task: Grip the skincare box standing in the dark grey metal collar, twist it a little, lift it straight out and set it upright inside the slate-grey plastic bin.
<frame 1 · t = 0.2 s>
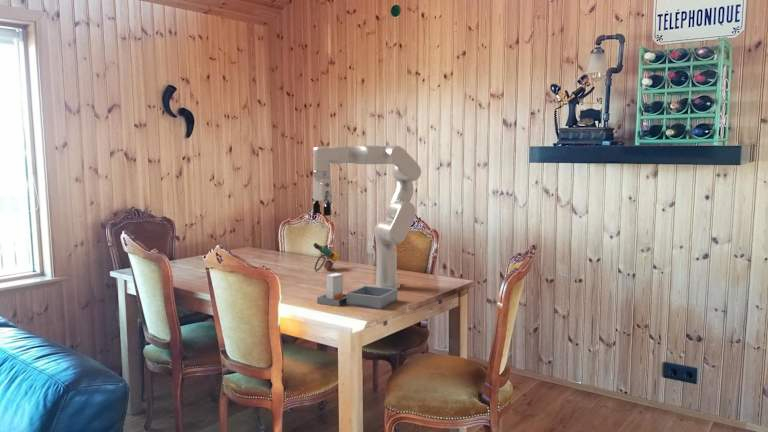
hand: (321, 214, 271), 37 cm above the table, tool pointing down, fingers open, 9 cm apart
collar: (334, 302, 265), on the table
skincare box: (334, 302, 265), resting in collar
binoculars: (326, 270, 333), on the table
bin: (372, 302, 264), on the table
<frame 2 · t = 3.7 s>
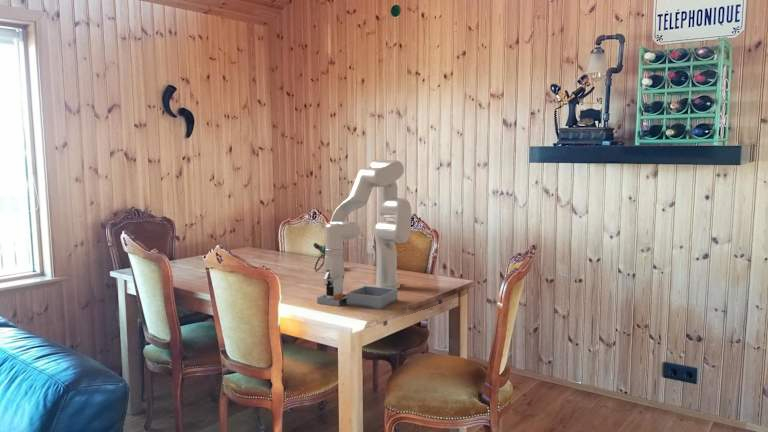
hand: (334, 293, 264), 4 cm above the table, tool pointing down, fingers closed on skincare box, 6 cm apart
skincare box: (334, 302, 265), resting in collar, touching gripper
everything else where it was.
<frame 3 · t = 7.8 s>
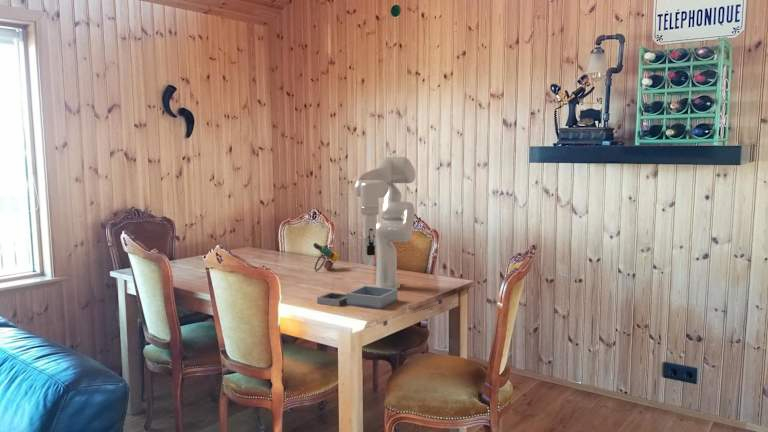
hand: (370, 252, 261), 21 cm above the table, tool pointing down, fingers closed on skincare box, 6 cm apart
skincare box: (369, 262, 262), point 17 cm above the table, touching gripper
everything else where it was.
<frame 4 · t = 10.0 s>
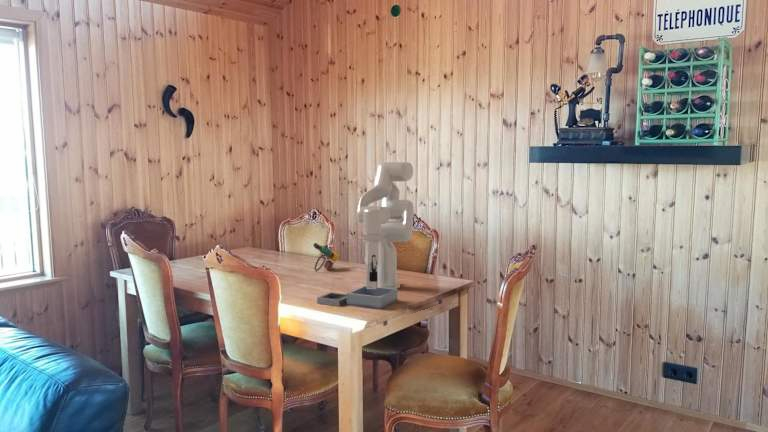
hand: (372, 279, 262), 10 cm above the table, tool pointing down, fingers closed on skincare box, 6 cm apart
skincare box: (372, 288, 263), point 6 cm above the table, touching gripper
everything else where it was.
when the fingers open (6 cm above the table, at t = 11.8 s): skincare box drops 1 cm, resting on bin.
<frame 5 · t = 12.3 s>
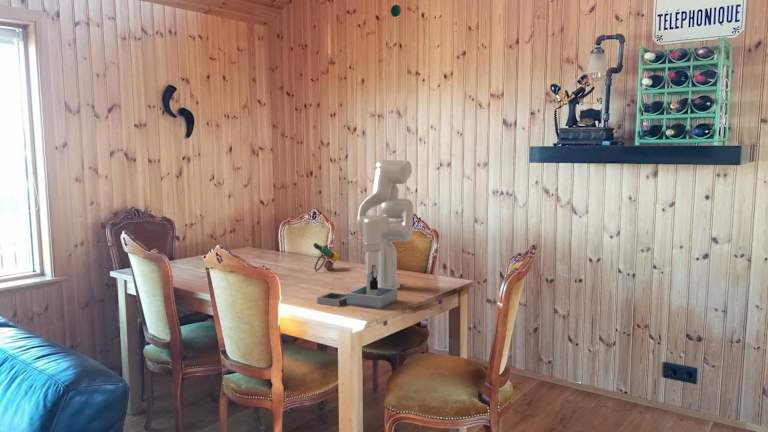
hand: (372, 287, 263), 7 cm above the table, tool pointing down, fingers open, 9 cm apart
skincare box: (372, 300, 264), point 1 cm above the table, touching bin
everything else where it was.
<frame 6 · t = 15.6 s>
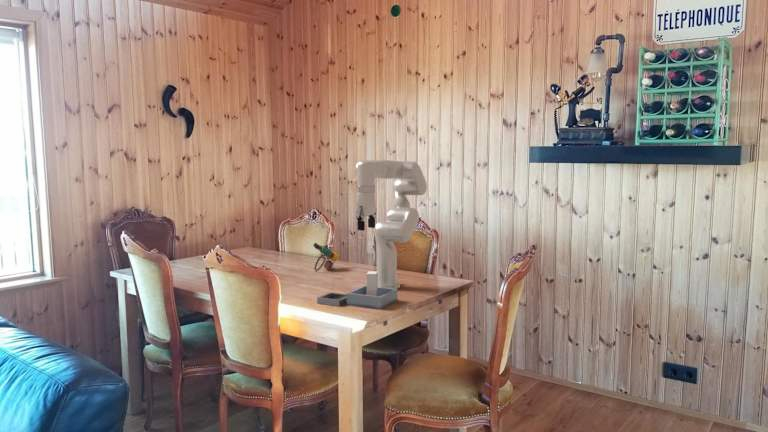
hand: (366, 228, 270), 30 cm above the table, tool pointing down, fingers open, 9 cm apart
nothing on the table moved.
at the end: skincare box inside the target area on the bin (0.5 cm from its centre), point 0.8 cm above the bin's base; skincare box tilted 0°; the gripper is holding nothing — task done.
